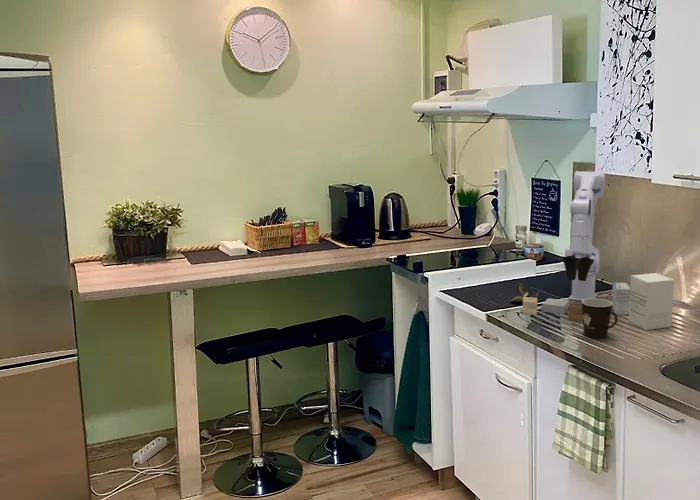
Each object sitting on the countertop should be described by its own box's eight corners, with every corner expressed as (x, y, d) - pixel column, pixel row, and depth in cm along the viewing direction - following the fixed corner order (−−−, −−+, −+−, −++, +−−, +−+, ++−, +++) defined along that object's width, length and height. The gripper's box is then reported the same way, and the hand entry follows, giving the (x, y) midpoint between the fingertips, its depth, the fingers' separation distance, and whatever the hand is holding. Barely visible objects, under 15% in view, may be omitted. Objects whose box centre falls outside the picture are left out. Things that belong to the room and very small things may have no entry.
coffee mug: (576, 330, 211) (577, 298, 209) (605, 330, 210) (607, 298, 208) (588, 343, 199) (589, 310, 197) (618, 343, 199) (620, 309, 197)
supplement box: (653, 318, 219) (656, 272, 216) (672, 327, 211) (675, 279, 208) (627, 321, 218) (630, 274, 214) (645, 330, 209) (648, 281, 206)
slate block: (548, 306, 236) (548, 298, 235) (569, 309, 232) (569, 300, 232) (542, 312, 230) (542, 303, 229) (563, 315, 226) (564, 306, 226)
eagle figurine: (542, 299, 239) (520, 290, 245) (538, 285, 235) (516, 276, 241) (528, 314, 237) (507, 304, 243) (525, 301, 232) (503, 291, 238)
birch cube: (522, 310, 232) (523, 297, 231) (536, 311, 231) (537, 297, 230) (522, 314, 228) (522, 301, 227) (536, 315, 227) (537, 301, 226)
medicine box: (629, 315, 223) (631, 289, 222) (615, 314, 224) (616, 288, 222) (625, 307, 231) (626, 282, 229) (611, 307, 232) (612, 282, 230)
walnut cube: (571, 315, 225) (571, 302, 224) (585, 317, 223) (586, 303, 222) (567, 319, 221) (568, 306, 220) (582, 321, 219) (583, 307, 218)
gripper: (581, 235, 212) (578, 280, 212) (601, 239, 222) (598, 281, 222) (559, 234, 217) (556, 278, 216) (580, 238, 227) (577, 280, 227)
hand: (576, 280), depth 220 cm, fingers open, 7 cm apart
